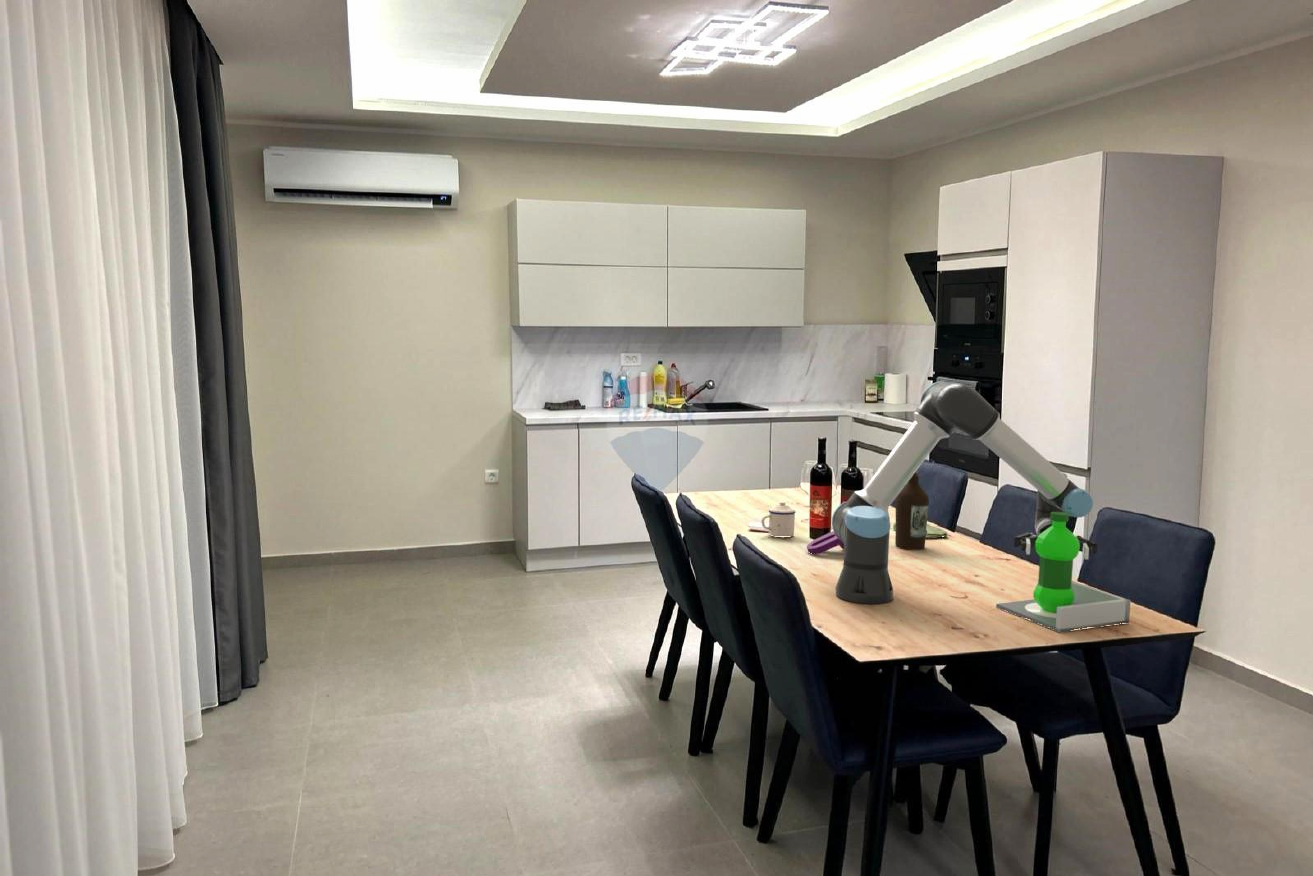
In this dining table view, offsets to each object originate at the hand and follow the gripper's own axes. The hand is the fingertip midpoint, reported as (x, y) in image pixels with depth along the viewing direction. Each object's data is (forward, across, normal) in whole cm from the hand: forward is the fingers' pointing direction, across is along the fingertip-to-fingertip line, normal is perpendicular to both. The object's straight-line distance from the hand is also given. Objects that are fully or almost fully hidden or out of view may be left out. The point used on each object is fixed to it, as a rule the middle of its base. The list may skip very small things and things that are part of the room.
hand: (1057, 551), depth 245 cm
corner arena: (-1, -2, -17) cm, 17 cm away
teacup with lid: (-65, +84, -17) cm, 107 cm away
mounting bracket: (-47, +61, -17) cm, 79 cm away
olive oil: (-66, +40, -17) cm, 79 cm away
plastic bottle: (-2, 0, -16) cm, 16 cm away
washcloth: (-88, +38, -17) cm, 97 cm away
